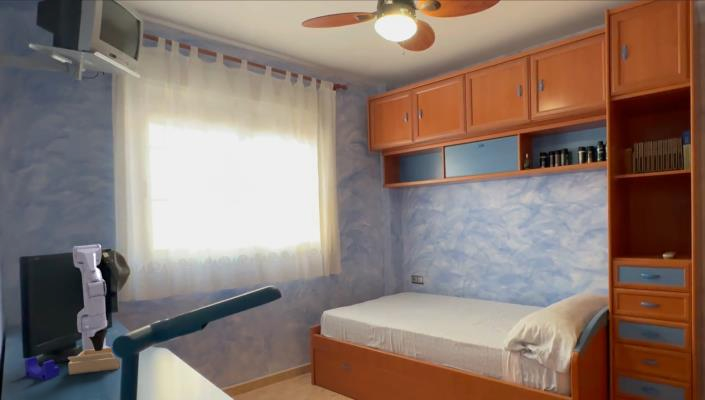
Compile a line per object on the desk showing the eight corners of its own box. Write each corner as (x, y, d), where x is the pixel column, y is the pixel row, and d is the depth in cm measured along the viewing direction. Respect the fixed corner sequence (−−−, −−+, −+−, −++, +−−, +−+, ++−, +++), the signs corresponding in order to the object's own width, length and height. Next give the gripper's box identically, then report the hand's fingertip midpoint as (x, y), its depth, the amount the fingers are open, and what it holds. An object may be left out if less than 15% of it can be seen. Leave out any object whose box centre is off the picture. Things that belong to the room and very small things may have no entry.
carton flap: (67, 357, 150) (67, 358, 150) (111, 351, 153) (110, 353, 153) (72, 360, 154) (72, 362, 153) (114, 355, 157) (114, 357, 156)
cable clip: (59, 375, 154) (58, 358, 153) (46, 380, 149) (45, 363, 149) (39, 371, 159) (38, 355, 159) (25, 376, 155) (25, 359, 154)
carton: (84, 360, 167) (83, 350, 167) (130, 354, 171) (130, 344, 171) (68, 374, 153) (67, 363, 153) (119, 368, 157) (119, 357, 157)
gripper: (92, 310, 166) (94, 345, 166) (76, 320, 152) (78, 358, 152) (112, 308, 168) (114, 343, 168) (98, 318, 154) (100, 356, 154)
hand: (98, 350), depth 160 cm, fingers closed
